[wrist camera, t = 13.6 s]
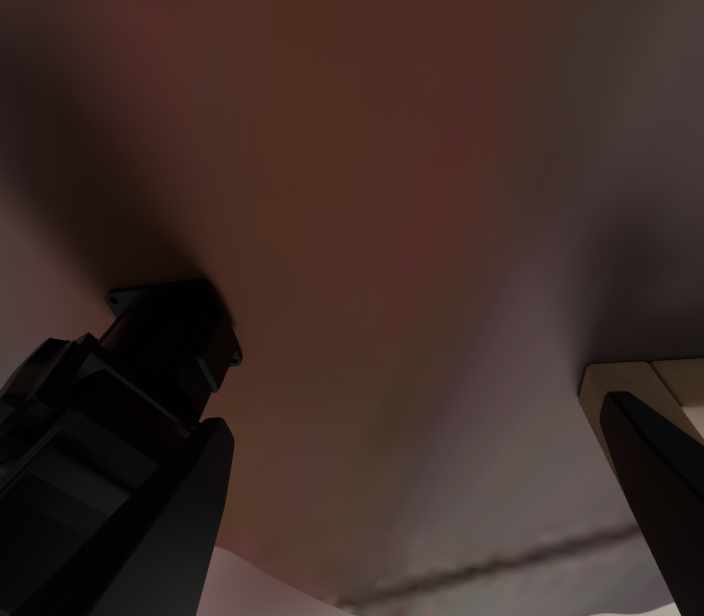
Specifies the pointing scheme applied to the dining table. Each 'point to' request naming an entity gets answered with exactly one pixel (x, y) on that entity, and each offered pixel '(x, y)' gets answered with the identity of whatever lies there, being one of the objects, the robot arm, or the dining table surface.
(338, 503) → the dining table surface
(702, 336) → the dining table surface
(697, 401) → the wooden block
